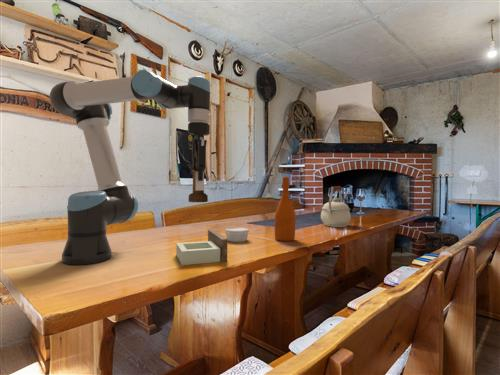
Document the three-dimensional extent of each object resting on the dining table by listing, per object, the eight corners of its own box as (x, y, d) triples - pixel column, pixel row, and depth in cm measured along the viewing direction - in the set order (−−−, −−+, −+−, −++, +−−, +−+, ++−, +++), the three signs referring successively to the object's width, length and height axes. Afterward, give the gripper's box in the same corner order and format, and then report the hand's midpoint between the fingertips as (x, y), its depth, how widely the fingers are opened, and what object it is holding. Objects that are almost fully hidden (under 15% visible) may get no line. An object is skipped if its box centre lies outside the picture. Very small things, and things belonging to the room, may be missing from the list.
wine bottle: (298, 239, 142) (299, 177, 142) (289, 242, 134) (291, 176, 133) (280, 236, 148) (281, 176, 147) (270, 240, 139) (271, 176, 138)
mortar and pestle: (191, 202, 100) (191, 149, 99) (186, 201, 105) (186, 150, 105) (210, 202, 103) (210, 150, 102) (204, 200, 108) (204, 151, 108)
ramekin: (236, 236, 146) (236, 226, 146) (253, 240, 139) (253, 229, 139) (220, 240, 138) (220, 229, 138) (237, 244, 131) (238, 232, 130)
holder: (181, 265, 96) (181, 251, 96) (176, 255, 108) (176, 243, 108) (220, 261, 101) (220, 248, 101) (211, 252, 113) (211, 240, 113)
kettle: (327, 222, 202) (328, 185, 201) (354, 224, 191) (356, 186, 191) (312, 226, 182) (313, 186, 181) (342, 230, 171) (343, 187, 170)
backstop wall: (221, 262, 101) (221, 239, 100) (207, 249, 119) (208, 229, 119) (227, 262, 101) (227, 239, 101) (212, 249, 120) (212, 229, 120)
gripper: (215, 119, 97) (214, 191, 97) (204, 127, 113) (203, 189, 113) (192, 117, 94) (192, 191, 95) (184, 126, 110) (183, 189, 110)
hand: (198, 189), depth 104 cm, fingers closed on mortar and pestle, 4 cm apart
